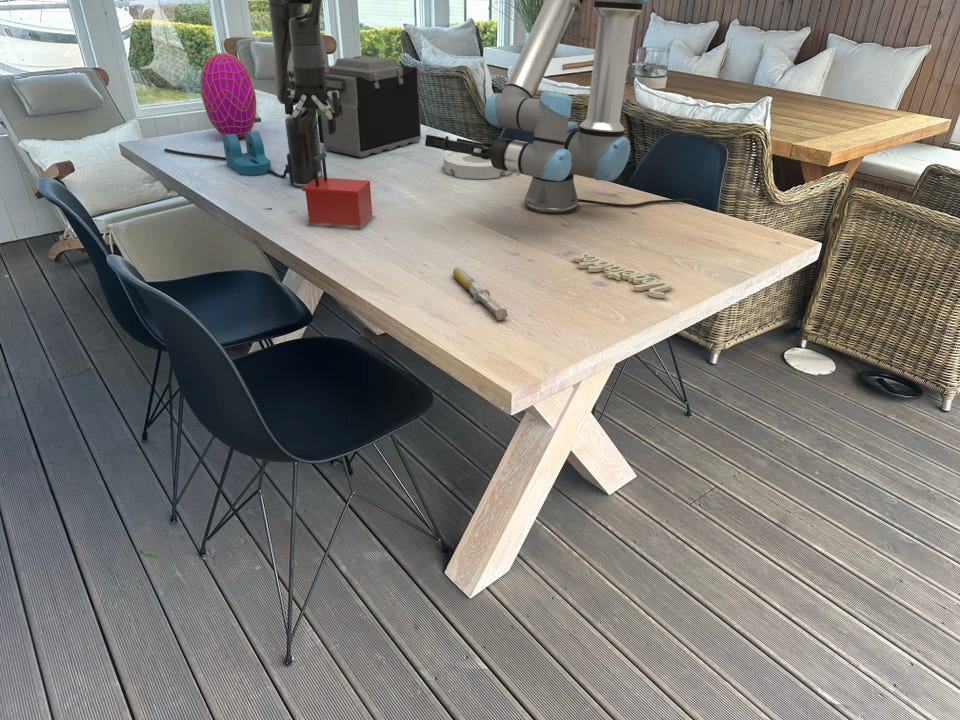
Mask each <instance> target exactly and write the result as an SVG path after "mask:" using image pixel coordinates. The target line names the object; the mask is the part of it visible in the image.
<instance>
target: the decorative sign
mask: <svg viewBox="0 0 960 720" xmlns="http://www.w3.org/2000/svg"><path fill="white" fill-rule="evenodd" d="M574 262H575V263H578V269H588V270H587V272H588V273H598V272H603V273H604V276H606V277H607V278H608V279H614V280H617V281H621V279H622V280H627V281H628V282H630V283H633V284H634V285H633V291H636V292H643V291H647V290H648V293H647V294H648V296H649V297H652V298H656V299H664V298H665V295H666V292H668V291H669V290H670V289H671V283H670V282H668V281H659V279H658V272H657V271H648V272H639V271H637V270H634V269H630V268H628V267H627V266H626V267H625V266H624V265H619V264H618V263H615V262H611V261H610V260H604V258H601V257H598V256H596V255H592V254H590V253H587V252H586V253H582V254H581V255H580V256H578V255H575V256H574Z"/></svg>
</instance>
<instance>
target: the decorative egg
mask: <svg viewBox="0 0 960 720" xmlns="http://www.w3.org/2000/svg"><path fill="white" fill-rule="evenodd" d="M200 93H201V99H202V103H203V106H204V109H205V112H206V114H207V117H208V120H209V121H210V123H211V124H212V126H213V127H214V128H215V130H216V131H217V132H218V133H219V134H220V135H222V136H223V137H224V135H230V134H235V135H236V136H237V138H238V139H241V138H244V137H246V133H247V132H252V129H253V127H254V125H255V122H256V117H257V95H256V90H255V86H254V84H253V80H252V77H251V75H250V73H249V71H248V69H247V68H246V66H245V65H244V64H243V62H242V60H241V59H239V58H238V57H237V56H235V55H233V54H231V53H227V52H219V53H215V54H213V55H210V56H208V58H207V59H206V60H205V62H204V64H203V67H202V68H201V74H200Z"/></svg>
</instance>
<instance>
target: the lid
mask: <svg viewBox="0 0 960 720" xmlns="http://www.w3.org/2000/svg"><path fill="white" fill-rule="evenodd" d="M326 158H327V153H326V152H324V151H322V152H320V154H319V155H317V156H316V157H314V158H313V159H312V160H311V162H312V164H313V166H314V175H315V179H314V180H312V181H311V182H309V183H308V184H307V185H305V186H304V187H302V188H301V191H302V192H306V191H312V192H327V193H342V194H357V195H358V194H359V193H360V192H361V191H362V190H363V189H364V188H366V187H367V186H368V185H369V184H370V185H371V180H366V179H351V178H335V177H328V173H327V164H326V163H327V162H326ZM320 161H321V165H322V175H323V178H321V177H318V170H317V163H318V162H320Z"/></svg>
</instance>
